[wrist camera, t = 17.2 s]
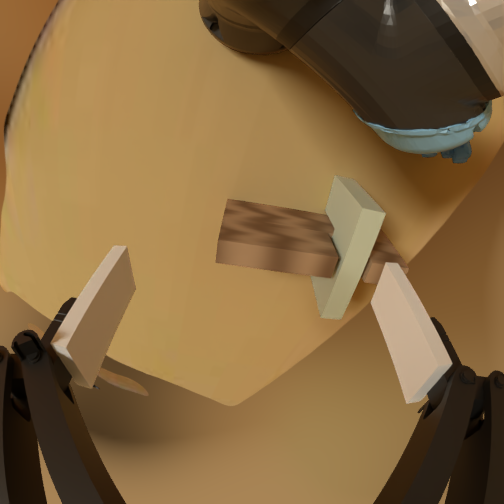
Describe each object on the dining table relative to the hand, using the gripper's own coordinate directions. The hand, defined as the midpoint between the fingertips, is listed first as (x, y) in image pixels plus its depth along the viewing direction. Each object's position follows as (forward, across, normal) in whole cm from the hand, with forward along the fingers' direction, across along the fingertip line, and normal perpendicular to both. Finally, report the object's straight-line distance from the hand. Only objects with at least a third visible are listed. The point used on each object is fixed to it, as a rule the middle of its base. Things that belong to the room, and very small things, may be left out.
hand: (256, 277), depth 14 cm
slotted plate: (+28, +12, -11) cm, 32 cm away
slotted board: (+28, +8, -10) cm, 31 cm away
